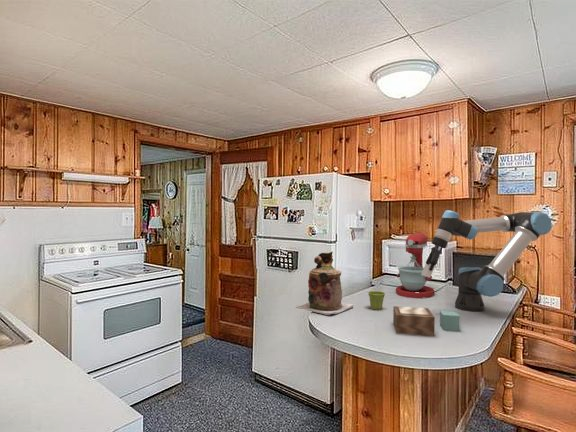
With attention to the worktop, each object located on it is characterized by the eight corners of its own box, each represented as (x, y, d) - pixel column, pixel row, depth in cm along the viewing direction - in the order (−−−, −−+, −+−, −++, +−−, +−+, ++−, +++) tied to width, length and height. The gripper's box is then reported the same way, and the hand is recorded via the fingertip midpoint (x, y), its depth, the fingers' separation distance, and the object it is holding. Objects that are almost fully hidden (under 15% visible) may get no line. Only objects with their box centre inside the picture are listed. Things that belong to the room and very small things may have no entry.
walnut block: (427, 324, 177) (428, 307, 177) (434, 335, 162) (434, 316, 162) (393, 322, 181) (393, 305, 180) (396, 332, 165) (396, 313, 165)
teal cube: (455, 326, 176) (455, 311, 175) (459, 331, 169) (459, 315, 169) (439, 325, 177) (440, 310, 177) (442, 330, 170) (443, 314, 170)
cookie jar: (319, 301, 223) (320, 248, 223) (355, 308, 208) (356, 251, 207) (293, 308, 204) (294, 251, 204) (331, 317, 189) (332, 254, 188)
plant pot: (385, 311, 202) (385, 295, 202) (367, 309, 204) (368, 294, 204) (384, 306, 211) (384, 291, 211) (367, 305, 213) (367, 290, 213)
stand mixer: (390, 295, 241) (390, 233, 240) (403, 287, 267) (404, 231, 267) (428, 300, 228) (429, 235, 227) (438, 291, 254) (439, 233, 254)
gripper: (430, 237, 207) (415, 272, 206) (438, 234, 183) (421, 273, 182) (443, 243, 205) (428, 278, 204) (453, 240, 181) (436, 280, 180)
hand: (425, 276), depth 193 cm, fingers open, 13 cm apart
